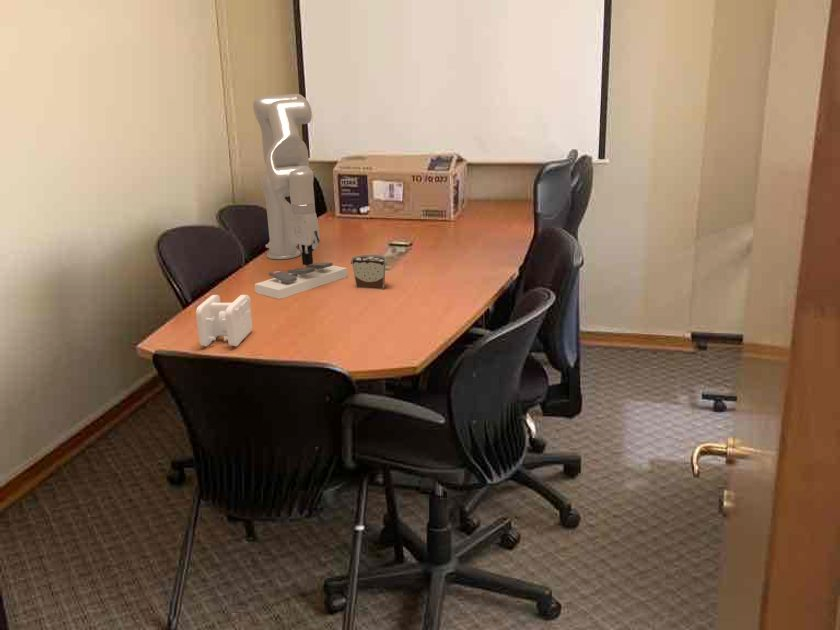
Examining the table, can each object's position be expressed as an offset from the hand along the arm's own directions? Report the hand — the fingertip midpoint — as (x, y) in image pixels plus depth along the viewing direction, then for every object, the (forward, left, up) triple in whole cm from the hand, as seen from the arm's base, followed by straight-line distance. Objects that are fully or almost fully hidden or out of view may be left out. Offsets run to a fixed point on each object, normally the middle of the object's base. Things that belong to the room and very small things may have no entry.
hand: (307, 264), depth 285 cm
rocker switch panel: (-4, 0, -8) cm, 8 cm away
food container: (+17, +12, -8) cm, 23 cm away
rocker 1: (-4, -8, -3) cm, 9 cm away
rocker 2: (-4, 0, -3) cm, 5 cm away
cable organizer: (+19, -48, -8) cm, 52 cm away
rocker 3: (-4, +8, -3) cm, 9 cm away
